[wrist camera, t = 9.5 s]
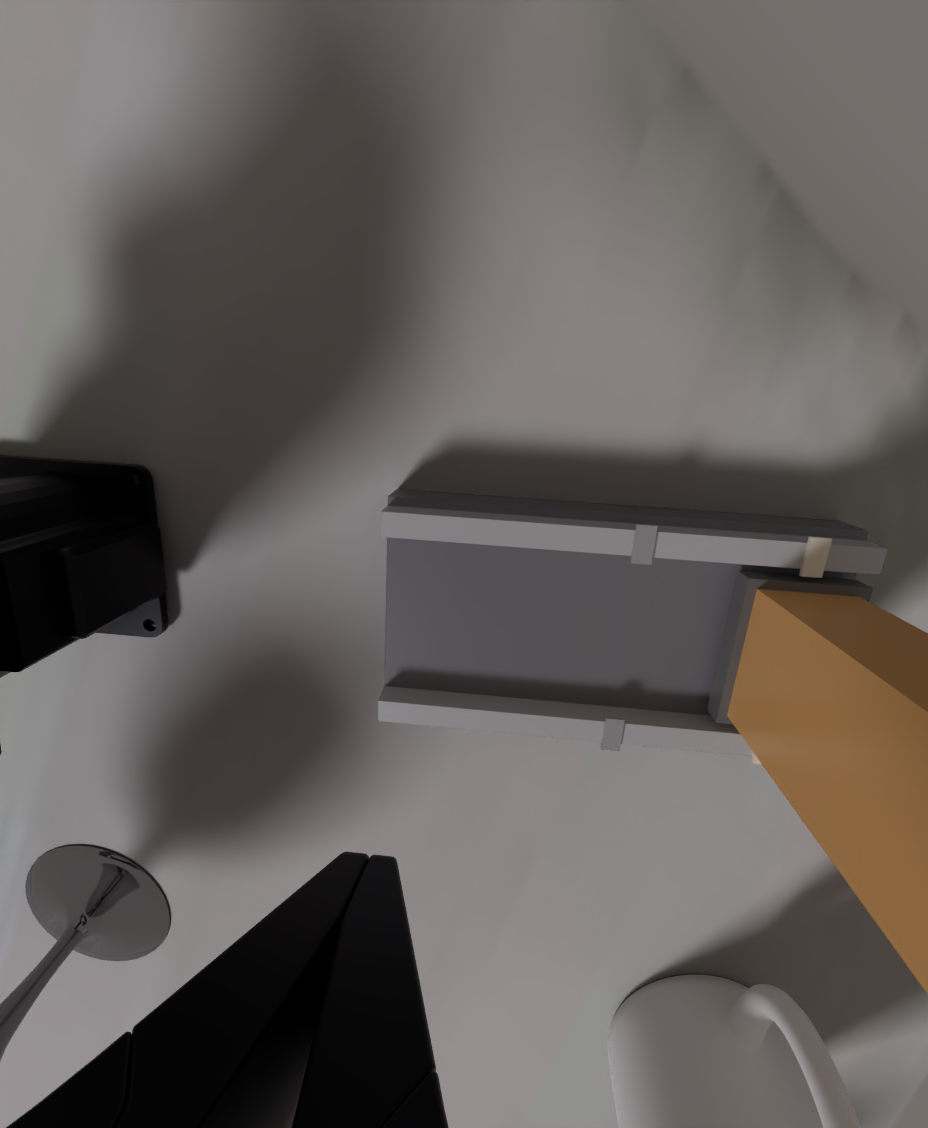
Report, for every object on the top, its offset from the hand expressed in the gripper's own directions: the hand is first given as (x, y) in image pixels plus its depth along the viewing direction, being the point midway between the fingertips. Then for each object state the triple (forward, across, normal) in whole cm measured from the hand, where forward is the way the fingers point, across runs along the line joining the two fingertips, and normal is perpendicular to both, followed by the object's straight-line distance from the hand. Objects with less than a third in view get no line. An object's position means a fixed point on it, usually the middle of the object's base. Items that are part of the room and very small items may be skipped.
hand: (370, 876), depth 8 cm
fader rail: (+12, +6, 0) cm, 13 cm away
